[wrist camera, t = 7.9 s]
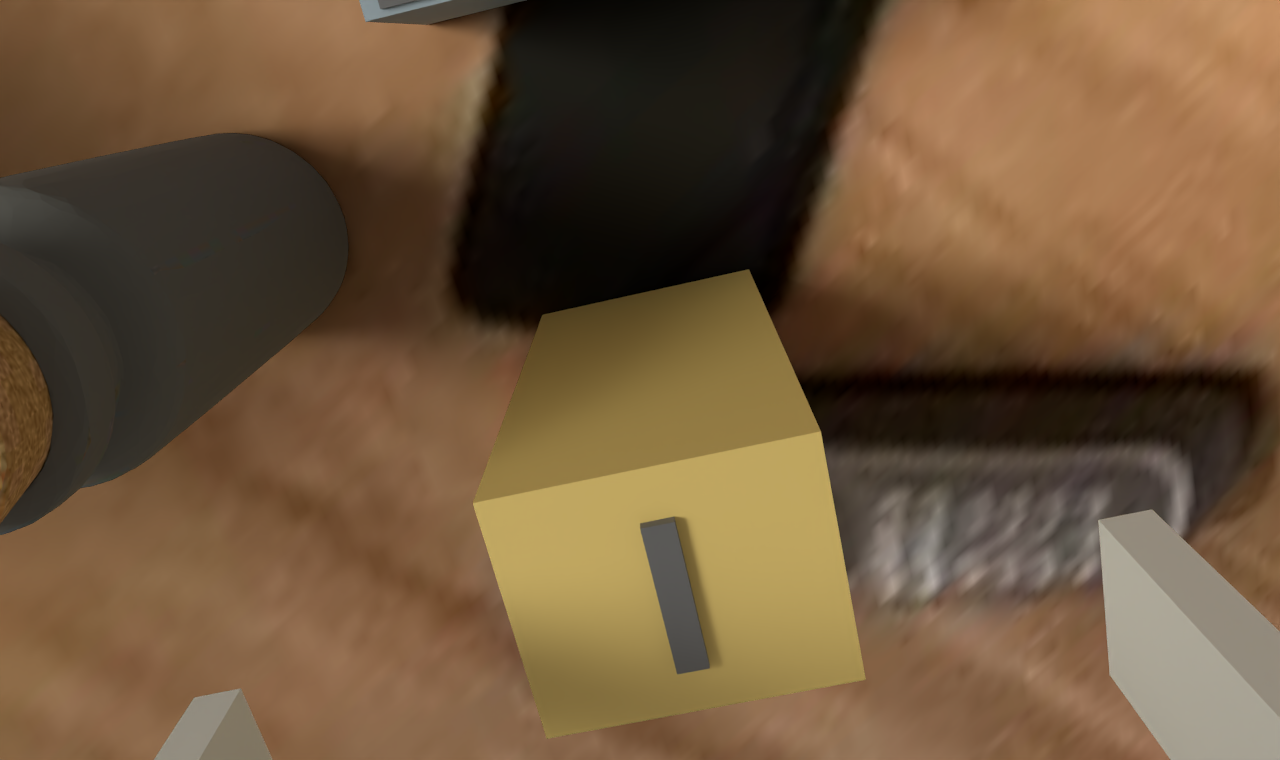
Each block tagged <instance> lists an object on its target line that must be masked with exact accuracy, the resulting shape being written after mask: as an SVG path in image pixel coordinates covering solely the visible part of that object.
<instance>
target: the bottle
mask: <svg viewBox="0 0 1280 760" xmlns="http://www.w3.org/2000/svg"><path fill="white" fill-rule="evenodd" d="M348 247H349V246H348V236H347V228H346V223H345V219H344V216H343V214H342V211H341V209H340V206H339V204H338V202H337V200H336V198H335V196H334V194H333V192H332V191H331V189H330V187H329V186H328V184H327V183H326V181H325V180H324V179H323V178H322V177H321V176H320V175H319V173H318V172H317V171H316V170H315V169H314V168H313V167H312V166H311V165H310V164H308V163H307V162H306V161H305V160H303V159H302V158H301V157H300V156H298V155H297V154H296V153H294V152H293V151H291V150H289V149H287V148H285V147H283V146H281V145H279V144H277V143H275V142H273V141H271V140H268V139H264V138H261V137H257V136H253V135H248V134H237V133H224V134H213V135H207V136H201V137H195V138H189V139H184V140H179V141H174V142H169V143H164V144H159V145H154V146H149V147H144V148H139V149H135V150H130V151H125V152H120V153H115V154H110V155H105V156H100V157H95V158H91V159H86V160H81V161H77V162H72V163H67V164H62V165H58V166H53V167H48V168H44V169H39V170H34V171H29V172H25V173H20V174H15V175H11V176H6V177H2V178H0V535H2V534H6V533H9V532H12V531H15V530H17V529H20V528H22V527H25V526H27V525H30V524H32V523H34V522H35V521H37V520H39V519H40V518H42V517H43V516H45V515H46V514H48V513H49V512H51V511H52V510H54V509H55V508H57V507H58V506H59V505H61V504H62V503H63V502H64V501H65V500H67V499H68V498H69V497H70V496H71V495H72V494H74V493H75V492H76V491H77V490H78V489H80V488H83V487H90V486H94V485H97V484H101V483H104V482H107V481H110V480H113V479H115V478H117V477H119V476H121V475H123V474H124V473H126V472H128V471H130V470H132V469H134V468H136V467H138V466H139V465H141V464H142V463H144V462H145V461H147V460H148V459H149V458H151V457H152V456H153V455H155V454H156V453H157V452H158V451H159V450H161V449H162V448H163V447H164V446H166V445H167V444H168V443H169V442H170V441H172V440H173V439H174V438H175V437H177V436H178V435H179V434H180V433H181V432H183V431H184V430H185V429H186V428H188V427H189V426H190V425H191V424H192V423H194V422H195V421H196V420H197V419H199V418H200V417H201V416H202V415H203V414H205V413H206V412H207V411H208V410H210V409H211V408H212V407H213V406H214V405H216V404H217V403H218V402H219V401H220V400H222V399H223V398H224V397H225V396H226V395H228V394H229V393H230V392H231V391H232V390H233V389H235V388H236V387H237V386H238V385H239V384H241V383H242V382H243V381H244V380H245V379H247V378H248V377H249V376H250V375H251V374H252V373H254V372H255V371H256V370H257V369H258V368H260V367H261V366H262V365H263V364H264V363H266V362H267V361H268V360H269V359H270V358H271V357H273V356H274V355H275V354H276V353H277V352H279V351H280V350H281V349H282V348H283V347H285V346H286V345H287V344H288V343H289V342H290V341H292V340H293V339H294V338H295V337H296V336H297V335H299V334H300V333H301V332H302V331H303V330H304V329H305V328H307V327H308V326H309V325H310V324H311V323H312V322H313V321H314V320H316V319H317V318H318V317H319V316H320V315H321V314H322V313H323V312H324V310H325V309H326V308H327V307H328V306H329V304H330V303H331V301H332V300H333V298H334V297H335V295H336V293H337V292H338V290H339V288H340V286H341V284H342V281H343V278H344V275H345V271H346V266H347V260H348Z"/></svg>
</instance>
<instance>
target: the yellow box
mask: <svg viewBox="0 0 1280 760" xmlns="http://www.w3.org/2000/svg"><path fill="white" fill-rule="evenodd" d="M473 506H474V509H475V512H476V515H477V518H478V521H479V525H480V528H481V531H482V534H483V537H484V541H485V544H486V547H487V550H488V553H489V556H490V560H491V563H492V566H493V569H494V572H495V576H496V579H497V582H498V585H499V588H500V591H501V595H502V598H503V601H504V604H505V607H506V611H507V614H508V617H509V620H510V623H511V626H512V630H513V633H514V636H515V639H516V642H517V646H518V649H519V652H520V655H521V658H522V661H523V665H524V668H525V671H526V674H527V677H528V681H529V684H530V687H531V690H532V693H533V696H534V700H535V703H536V706H537V709H538V712H539V716H540V719H541V722H542V725H543V728H544V732H545V735H546V738H547V739H548V738H554V737H559V736H564V735H570V734H575V733H581V732H586V731H591V730H597V729H602V728H607V727H613V726H618V725H624V724H629V723H634V722H640V721H645V720H651V719H656V718H661V717H667V716H672V715H678V714H683V713H688V712H694V711H699V710H705V709H710V708H715V707H721V706H726V705H732V704H737V703H742V702H748V701H753V700H758V699H764V698H769V697H775V696H780V695H785V694H791V693H796V692H802V691H807V690H812V689H818V688H823V687H829V686H834V685H839V684H845V683H850V682H856V681H861V680H866V679H865V674H864V668H863V662H862V657H861V651H860V646H859V640H858V635H857V629H856V624H855V618H854V613H853V607H852V601H851V596H850V590H849V585H848V579H847V574H846V568H845V563H844V557H843V551H842V546H841V540H840V535H839V529H838V524H837V518H836V513H835V507H834V502H833V496H832V490H831V485H830V479H829V474H828V468H827V463H826V457H825V452H824V446H823V441H822V435H821V431H820V428H819V426H818V424H817V422H816V419H815V417H814V415H813V413H812V410H811V408H810V406H809V404H808V401H807V399H806V397H805V395H804V392H803V390H802V388H801V386H800V383H799V381H798V379H797V377H796V374H795V372H794V370H793V368H792V365H791V363H790V361H789V359H788V356H787V354H786V352H785V350H784V347H783V345H782V343H781V341H780V338H779V336H778V334H777V332H776V329H775V327H774V325H773V323H772V320H771V318H770V316H769V314H768V311H767V309H766V307H765V305H764V302H763V300H762V298H761V296H760V293H759V291H758V289H757V287H756V284H755V282H754V280H753V278H752V275H751V273H750V271H749V269H748V270H743V271H739V272H734V273H730V274H725V275H721V276H716V277H712V278H707V279H702V280H698V281H693V282H689V283H684V284H680V285H675V286H671V287H666V288H662V289H657V290H653V291H648V292H643V293H639V294H634V295H630V296H625V297H621V298H616V299H612V300H607V301H603V302H598V303H594V304H589V305H584V306H580V307H575V308H571V309H566V310H562V311H557V312H553V313H548V314H544V315H542V317H541V320H540V322H539V325H538V328H537V331H536V333H535V336H534V339H533V341H532V344H531V347H530V350H529V352H528V355H527V358H526V360H525V363H524V366H523V368H522V371H521V374H520V377H519V379H518V382H517V385H516V387H515V390H514V393H513V396H512V398H511V401H510V404H509V406H508V409H507V412H506V415H505V417H504V420H503V423H502V425H501V428H500V431H499V433H498V436H497V439H496V442H495V444H494V447H493V450H492V452H491V455H490V458H489V461H488V463H487V466H486V469H485V471H484V474H483V477H482V480H481V482H480V485H479V488H478V490H477V493H476V496H475V498H474V501H473Z"/></svg>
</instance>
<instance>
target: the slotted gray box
mask: <svg viewBox="0 0 1280 760" xmlns="http://www.w3.org/2000/svg"><path fill="white" fill-rule="evenodd" d="M359 1H360V4H361V7H362V11H363V14H364V17H365V21H366V22H384V23H403V24H422V25H428V24H432V23H436V22H440V21H444V20H448V19H452V18H456V17H461V16H465V15H469V14H473V13H477V12H481V11H485V10H489V9H493V8H497V7H501V6H505V5H509V4H513V3H517V2H521V1H525V0H359Z"/></svg>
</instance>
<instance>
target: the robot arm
mask: <svg viewBox="0 0 1280 760" xmlns="http://www.w3.org/2000/svg"><path fill="white" fill-rule="evenodd" d="M1098 522H1099V536H1100V549H1101V563H1102V576H1103V590H1104V603H1105V617H1106V631H1107V644H1108V658H1109V671H1110V676H1111V677H1112V679H1113V680H1114V681H1115V683H1116V684H1117V686H1118V687H1119V688H1120V690H1121V691H1122V693H1123V694H1124V695H1125V697H1126V698H1127V700H1128V701H1129V702H1130V704H1131V705H1132V707H1133V708H1134V709H1135V711H1136V712H1137V714H1138V715H1139V716H1140V718H1141V719H1142V720H1143V722H1144V723H1145V725H1146V726H1147V727H1148V729H1149V730H1150V732H1151V733H1152V734H1153V736H1154V737H1155V739H1156V740H1157V741H1158V743H1159V744H1160V746H1161V747H1162V748H1163V750H1164V751H1165V753H1166V754H1167V755H1168V757H1169V758H1170V759H1171V760H1280V631H1278V630H1277V629H1276V628H1275V627H1274V626H1273V625H1272V624H1271V623H1270V622H1269V621H1268V620H1267V619H1266V618H1265V617H1264V616H1263V615H1262V614H1261V613H1260V612H1259V611H1258V610H1257V609H1256V608H1254V607H1253V606H1252V605H1251V604H1250V603H1249V602H1248V601H1247V600H1246V599H1245V598H1244V597H1243V596H1242V595H1241V594H1240V593H1239V592H1238V591H1237V590H1236V589H1235V588H1234V587H1233V586H1231V585H1230V584H1229V583H1228V582H1227V581H1226V580H1225V579H1224V578H1223V577H1222V576H1221V575H1220V574H1219V573H1218V572H1217V571H1216V570H1215V569H1214V568H1213V567H1212V566H1211V565H1210V564H1209V563H1207V562H1206V561H1205V560H1204V559H1203V558H1202V557H1201V556H1200V555H1199V554H1198V553H1197V552H1196V551H1195V550H1194V549H1193V548H1192V547H1191V546H1190V545H1189V544H1188V543H1187V542H1186V541H1184V540H1183V539H1182V538H1181V537H1180V536H1179V535H1178V534H1177V533H1176V532H1175V531H1174V530H1173V529H1172V528H1171V527H1170V526H1169V525H1168V524H1167V523H1166V522H1165V521H1164V520H1163V519H1162V518H1160V517H1159V516H1158V515H1157V514H1156V513H1155V512H1154V511H1153V510H1146V511H1141V512H1136V513H1131V514H1126V515H1121V516H1116V517H1111V518H1106V519H1101V520H1098ZM154 760H272V757H271V755H270V753H269V751H268V748H267V746H266V744H265V742H264V739H263V737H262V735H261V733H260V730H259V728H258V726H257V724H256V721H255V719H254V717H253V715H252V712H251V710H250V708H249V706H248V703H247V701H246V699H245V697H244V694H243V692H242V690H241V689H236V690H231V691H226V692H221V693H216V694H211V695H206V696H200V697H195V698H194V699H193V700H192V702H191V703H190V705H189V707H188V708H187V710H186V711H185V713H184V714H183V716H182V717H181V719H180V720H179V722H178V723H177V725H176V727H175V728H174V730H173V731H172V733H171V734H170V736H169V737H168V739H167V740H166V742H165V743H164V745H163V747H162V748H161V750H160V751H159V753H158V754H157V756H156V757H155V759H154Z"/></svg>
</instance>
